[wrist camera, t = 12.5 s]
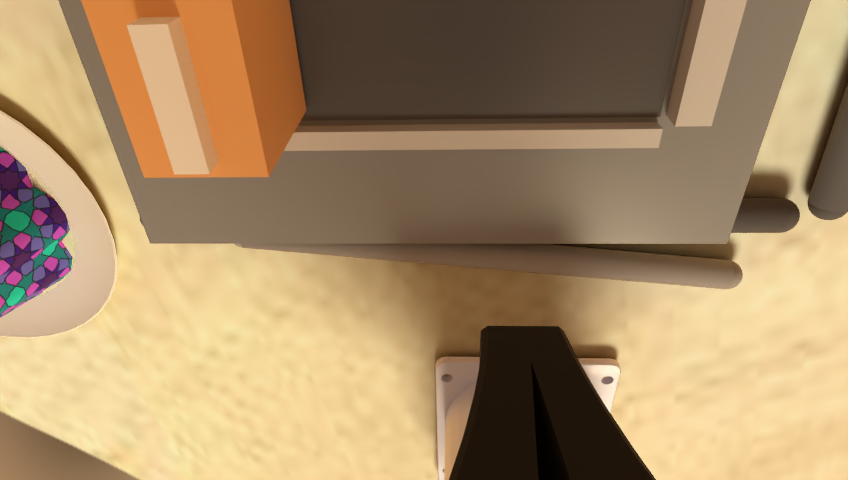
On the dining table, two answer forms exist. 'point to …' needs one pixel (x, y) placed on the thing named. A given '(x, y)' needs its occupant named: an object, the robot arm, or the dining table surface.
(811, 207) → the cord
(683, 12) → the grey framed board
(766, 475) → the dining table surface
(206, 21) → the lever
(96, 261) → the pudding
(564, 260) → the cord
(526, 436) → the robot arm
